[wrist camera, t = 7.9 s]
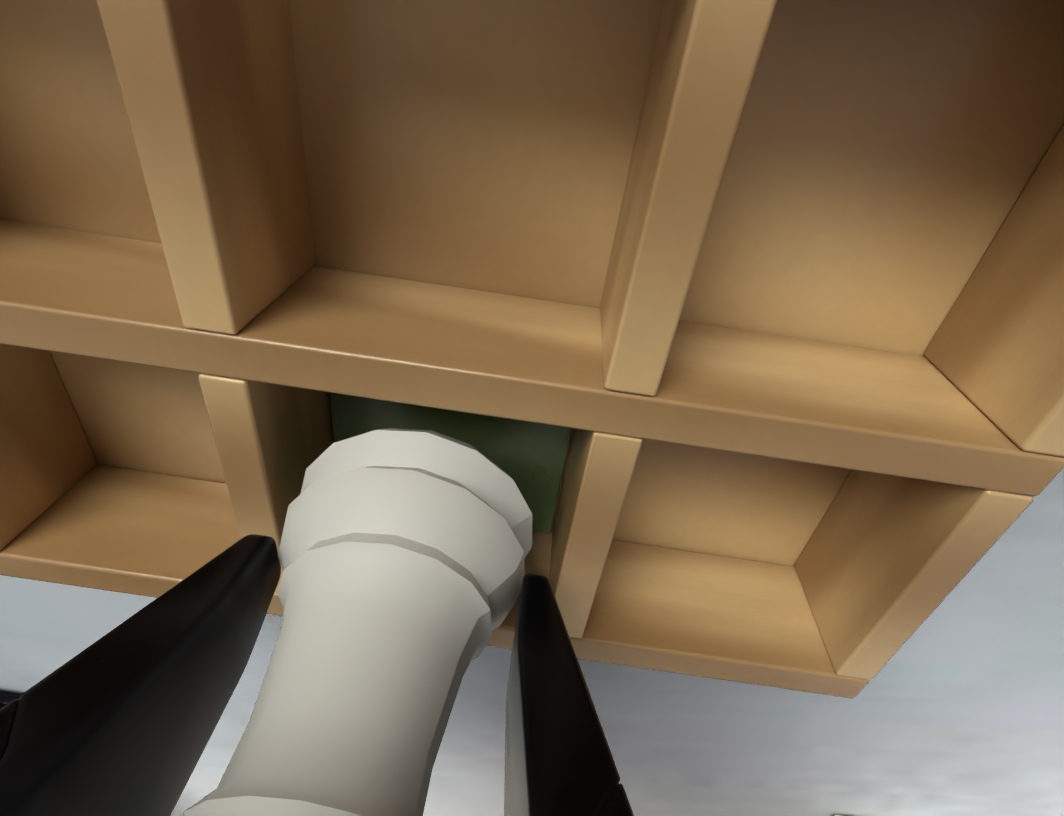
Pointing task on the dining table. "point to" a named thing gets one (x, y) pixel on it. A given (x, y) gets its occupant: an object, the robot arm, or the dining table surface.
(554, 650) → the robot arm
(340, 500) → the rook chess piece
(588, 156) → the rack
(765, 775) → the dining table surface
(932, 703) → the dining table surface
